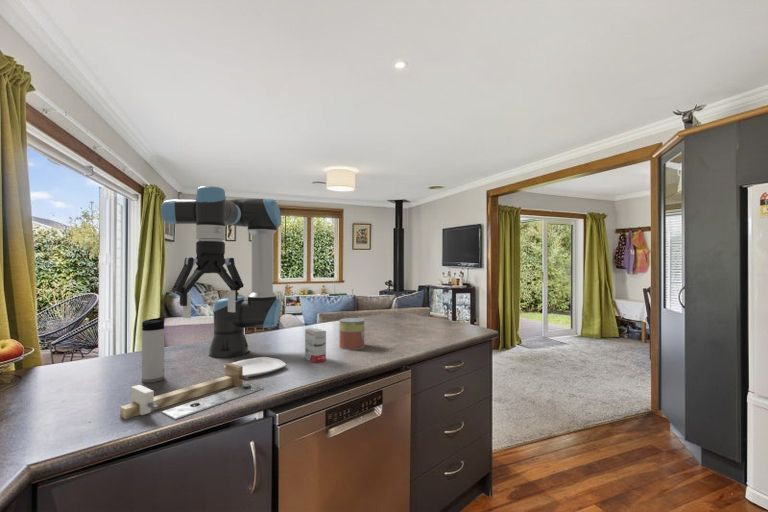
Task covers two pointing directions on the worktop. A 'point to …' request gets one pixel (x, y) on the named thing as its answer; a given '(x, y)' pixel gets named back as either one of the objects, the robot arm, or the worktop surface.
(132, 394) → the slider
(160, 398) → the beam
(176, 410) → the hole plate
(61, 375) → the worktop surface
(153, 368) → the travel mug
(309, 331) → the ink box
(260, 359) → the plate
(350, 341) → the canned food
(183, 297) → the robot arm
